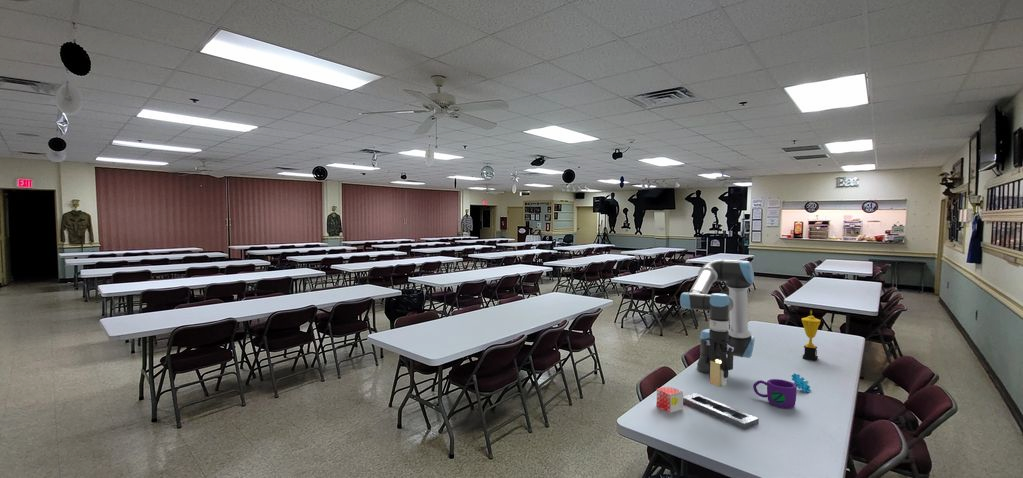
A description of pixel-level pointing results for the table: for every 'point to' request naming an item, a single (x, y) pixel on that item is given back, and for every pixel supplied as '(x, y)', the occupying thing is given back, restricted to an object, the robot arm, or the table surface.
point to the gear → (801, 383)
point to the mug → (779, 392)
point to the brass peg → (715, 372)
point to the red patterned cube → (670, 399)
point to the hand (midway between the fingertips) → (718, 382)
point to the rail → (728, 415)
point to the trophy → (810, 336)
